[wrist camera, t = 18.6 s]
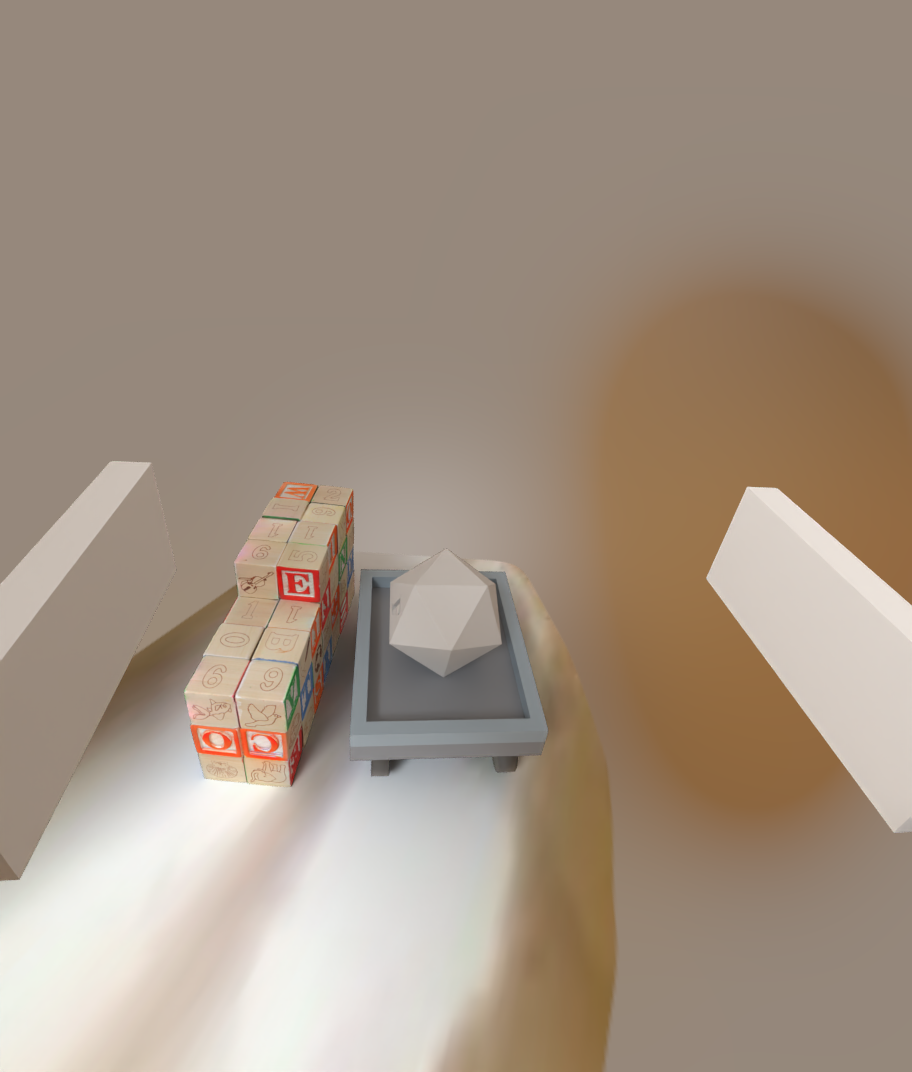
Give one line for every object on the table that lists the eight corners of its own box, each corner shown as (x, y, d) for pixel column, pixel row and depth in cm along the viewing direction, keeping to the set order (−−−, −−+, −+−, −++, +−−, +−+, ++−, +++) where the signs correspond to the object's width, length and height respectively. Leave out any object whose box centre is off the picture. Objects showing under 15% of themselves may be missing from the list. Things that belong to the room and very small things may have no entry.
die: (422, 603, 49) (363, 551, 42) (514, 578, 46) (468, 518, 39) (424, 694, 44) (358, 654, 37) (526, 673, 42) (477, 625, 34)
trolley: (350, 790, 39) (349, 735, 35) (360, 621, 52) (361, 569, 49) (532, 783, 40) (548, 730, 37) (495, 621, 54) (505, 571, 51)
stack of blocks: (293, 791, 38) (279, 668, 31) (202, 782, 38) (168, 657, 31) (354, 592, 56) (354, 485, 49) (293, 585, 56) (283, 478, 49)
